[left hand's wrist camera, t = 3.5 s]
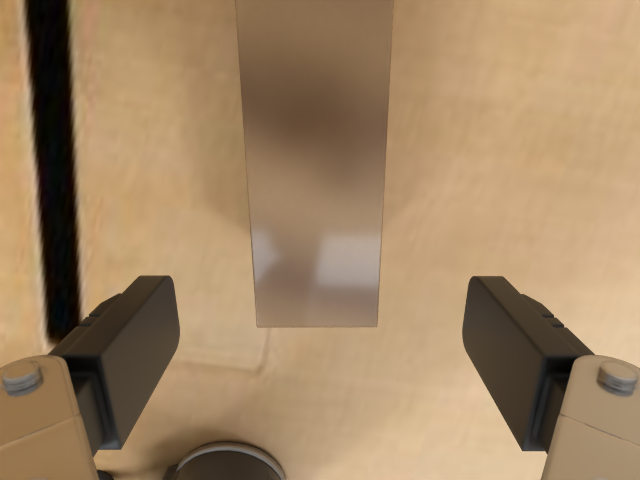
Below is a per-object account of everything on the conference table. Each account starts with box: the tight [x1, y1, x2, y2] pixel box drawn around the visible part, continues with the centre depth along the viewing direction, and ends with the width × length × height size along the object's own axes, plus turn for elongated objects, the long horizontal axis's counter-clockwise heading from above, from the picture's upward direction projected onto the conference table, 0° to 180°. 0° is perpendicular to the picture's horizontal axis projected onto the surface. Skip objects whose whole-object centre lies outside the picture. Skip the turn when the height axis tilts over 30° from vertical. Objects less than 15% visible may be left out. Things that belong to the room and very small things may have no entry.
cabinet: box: [235, 0, 394, 327], centre depth 20 cm, size 19×6×9 cm, turn 0°
